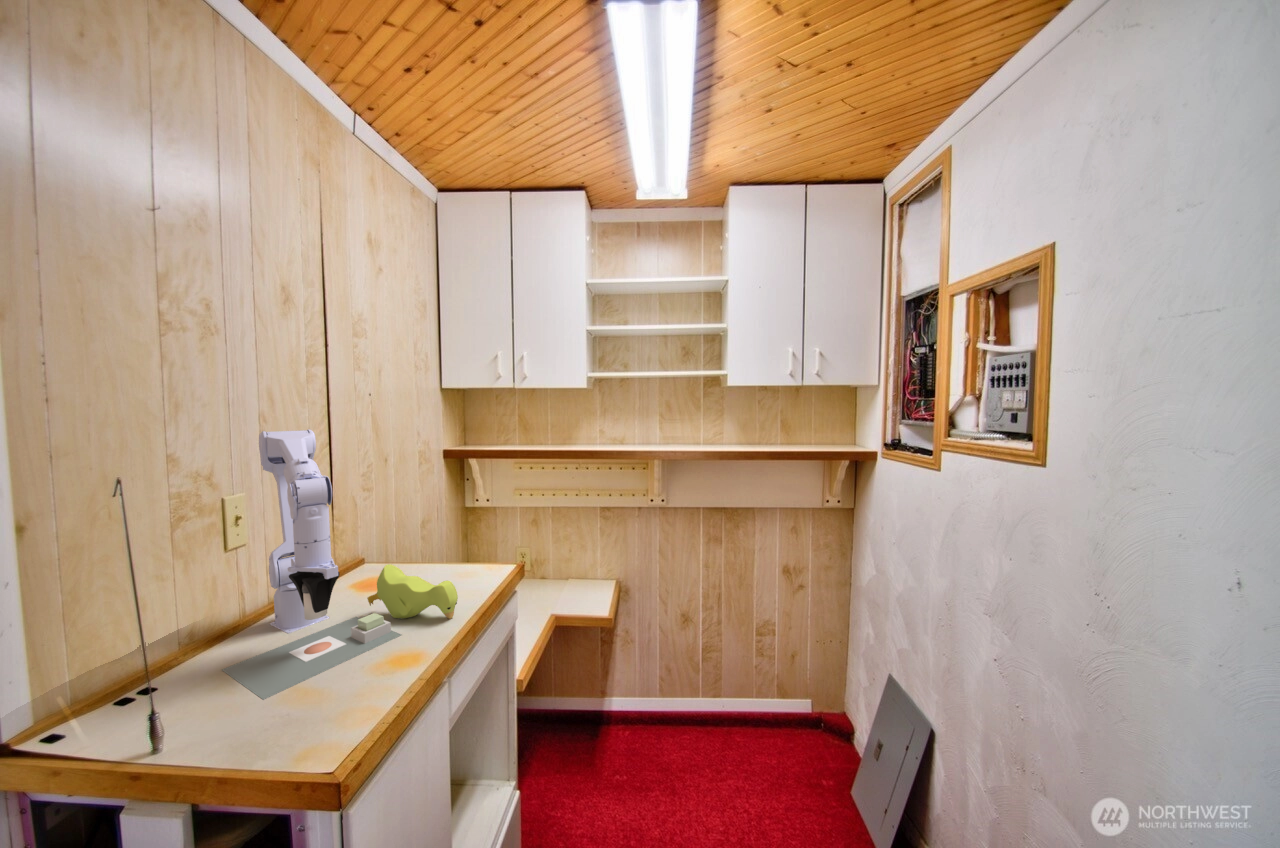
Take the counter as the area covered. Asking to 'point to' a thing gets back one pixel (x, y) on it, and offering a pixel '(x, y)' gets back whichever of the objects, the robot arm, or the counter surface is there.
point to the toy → (412, 594)
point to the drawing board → (307, 657)
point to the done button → (370, 622)
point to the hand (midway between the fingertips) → (316, 608)
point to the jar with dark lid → (310, 606)
